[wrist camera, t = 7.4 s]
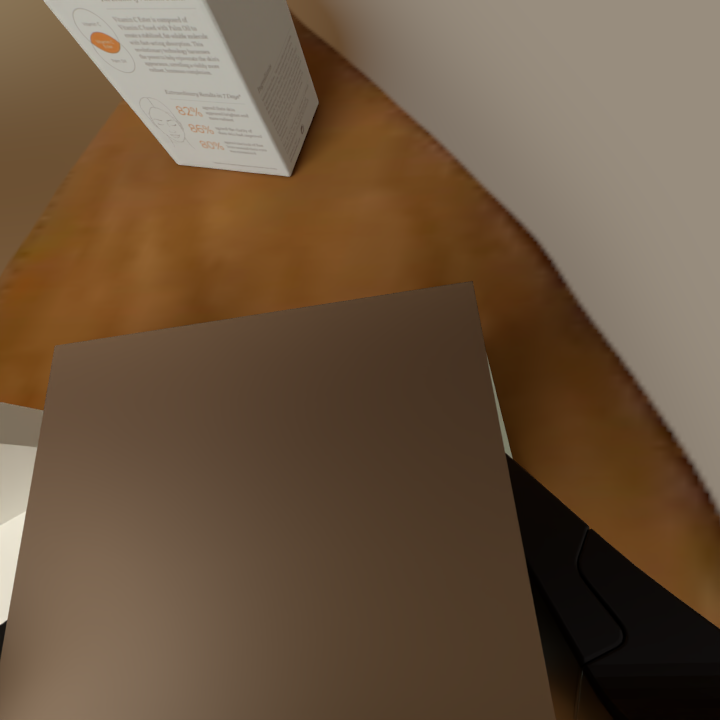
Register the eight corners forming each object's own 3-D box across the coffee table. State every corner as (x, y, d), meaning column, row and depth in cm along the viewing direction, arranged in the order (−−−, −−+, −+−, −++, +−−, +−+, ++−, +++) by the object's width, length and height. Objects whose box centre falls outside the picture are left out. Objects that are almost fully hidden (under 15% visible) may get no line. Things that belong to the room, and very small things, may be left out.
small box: (321, 105, 24) (243, -158, 14) (292, 181, 23) (182, -51, 13) (209, 97, 26) (72, -138, 16) (175, 167, 25) (4, -44, 15)
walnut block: (471, 591, 12) (602, 961, 3) (310, 598, 13) (-44, 909, 3) (447, 424, 14) (473, 280, 4) (305, 439, 14) (55, 346, 5)
